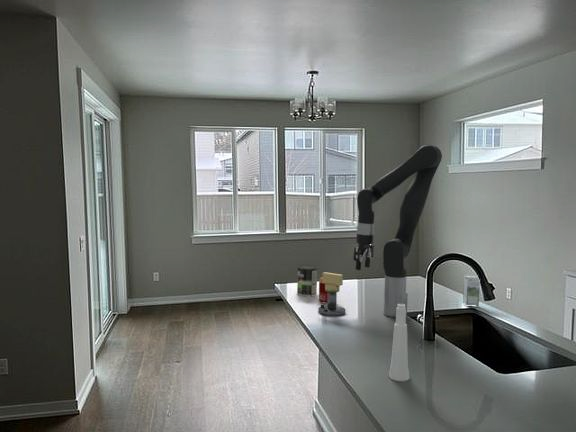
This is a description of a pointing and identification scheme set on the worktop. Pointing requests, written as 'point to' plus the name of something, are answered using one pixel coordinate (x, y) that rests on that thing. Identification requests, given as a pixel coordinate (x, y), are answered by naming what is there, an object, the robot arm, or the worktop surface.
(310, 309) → the worktop surface
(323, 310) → the round metal flange
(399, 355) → the cosmetic bottle
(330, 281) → the door handle
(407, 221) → the robot arm
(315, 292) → the coffee can
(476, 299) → the syrup box
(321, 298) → the canned food
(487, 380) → the worktop surface
